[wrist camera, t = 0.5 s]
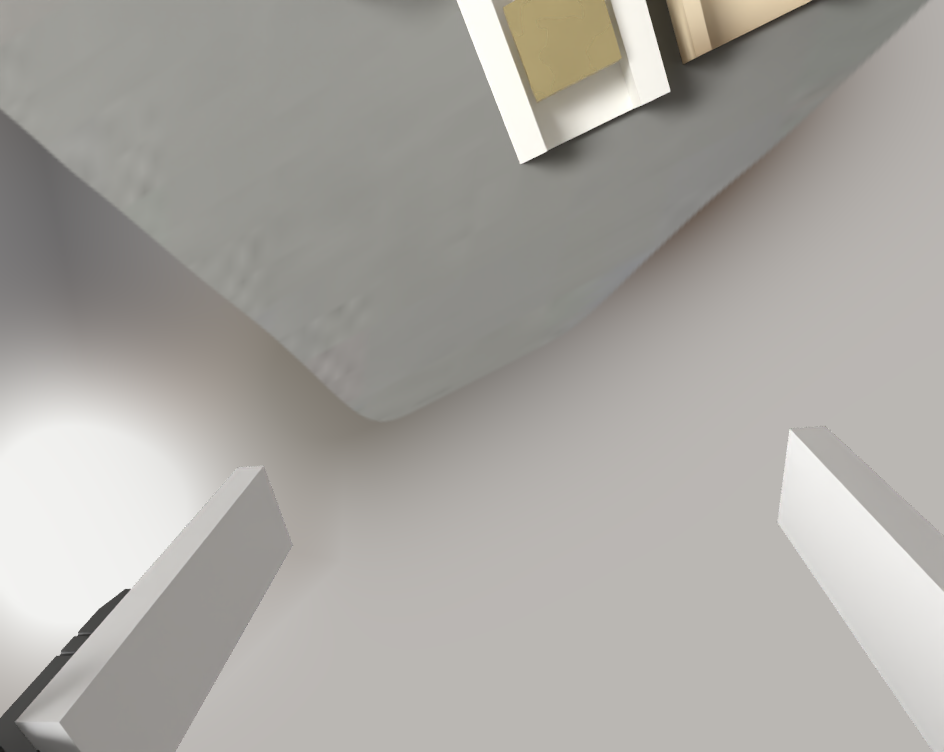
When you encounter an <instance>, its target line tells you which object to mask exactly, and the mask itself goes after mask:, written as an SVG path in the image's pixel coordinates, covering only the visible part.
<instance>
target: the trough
mask: <svg viewBox="0 0 944 752" xmlns="http://www.w3.org/2000/svg"><path fill="white" fill-rule="evenodd" d="M810 1H812V0H666V2H667V6H668V10H669V13H670V17H671V21H672V25H673V29H674V32H675V36H676V40H677V44H678V47H679V51H680V55H681V59H682V63H683V64H685V63H687V62H689V61H691V60H693V59H695V58H697V57H699V56H701V55H703V54H705V53H707V52H709V51H711V50H713V49H715V48H717V47H719V46H721V45H723V44H725V43H727V42H729V41H731V40H733V39H735V38H737V37H739V36H741V35H743V34H745V33H747V32H749V31H751V30H753V29H756V28H758V27H760V26H762V25H764V24H766V23H768V22H770V21H772V20H774V19H776V18H778V17H780V16H782V15H784V14H786V13H788V12H790V11H792V10H794V9H796V8H798V7H800V6H802V5H804V4H806V3H808V2H810Z"/></svg>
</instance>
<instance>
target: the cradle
mask: <svg viewBox="0 0 944 752" xmlns="http://www.w3.org/2000/svg"><path fill="white" fill-rule="evenodd" d="M513 1H515V0H457V2H458V5H459V7H460V10H461V12H462V15H463V18H464V20H465V23H466V25H467V28H468V30H469V33H470V36H471V38H472V41H473V43H474V46H475V48H476V51H477V54H478V56H479V59H480V61H481V64H482V66H483V69H484V71H485V74H486V77H487V79H488V82H489V84H490V87H491V89H492V92H493V95H494V97H495V100H496V102H497V105H498V107H499V110H500V113H501V115H502V118H503V120H504V123H505V125H506V128H507V130H508V133H509V136H510V138H511V141H512V143H513V146H514V148H515V151H516V154H517V156H518V159H519V161H520V164H521V163H524V162H526V161H528V160H531V159H533V158H535V157H537V156H539V155H541V154H543V153H545V152H547V150H549V149H552V148H554V147H556V146H558V145H560V144H562V143H564V142H566V141H568V140H570V139H572V138H574V137H576V136H578V135H580V134H582V133H584V132H587V131H589V130H591V129H593V128H595V127H597V126H599V125H601V124H603V123H605V122H607V121H609V120H611V119H613V118H615V117H617V116H619V115H621V114H624V113H626V112H628V111H630V110H632V109H634V108H637V107H639V106H642V105H644V104H646V103H648V102H650V101H652V100H654V99H656V98H658V97H660V96H662V95H664V94H666V93H669V92H671V91H670V87H669V84H668V80H667V77H666V73H665V69H664V66H663V62H662V58H661V55H660V51H659V48H658V44H657V40H656V37H655V33H654V29H653V26H652V22H651V19H650V15H649V11H648V8H647V4H646V0H605V3H606V7H607V10H608V13H609V17H610V20H611V23H612V27H613V30H614V33H615V37H616V40H617V43H618V47H619V50H620V53H621V57H622V58H621V59H620V60H619V61H618V62H616V63H614V64H612V65H610V66H609V67H607V68H605V69H603V70H601V71H599V72H597V73H595V74H593V75H591V76H589V77H587V78H585V79H583V80H581V81H579V82H577V83H575V84H573V85H572V86H570V87H568V88H566V89H564V90H562V91H560V92H558V93H556V94H554V95H552V96H550V97H548V98H546V99H544V100H542V101H540V102H538V103H536V100H535V97H534V94H533V92H532V89H531V86H530V84H529V81H528V78H527V75H526V73H525V70H524V67H523V64H522V62H521V59H520V56H519V53H518V51H517V48H516V45H515V42H514V40H513V37H512V34H511V31H510V29H509V26H508V23H507V20H506V18H505V15H504V11H503V7H504V6H506V5H508V4H509V3H511V2H513Z"/></svg>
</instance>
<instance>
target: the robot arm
mask: <svg viewBox="0 0 944 752" xmlns="http://www.w3.org/2000/svg"><path fill="white" fill-rule="evenodd" d="M777 522H778V524H779V525H780V527H781V528H782V530H783V531H784V533H785V534H786V536H787V537H788V538H789V540H790V542H791V543H792V545H793V546H794V547H795V549H796V550H797V552H798V553H799V555H800V556H801V558H802V559H803V561H804V562H805V564H806V565H807V567H808V568H809V570H810V571H811V573H812V574H813V576H814V577H815V579H816V580H817V581H818V583H819V584H820V586H821V587H822V589H823V590H824V592H825V593H826V595H827V596H828V598H829V599H830V601H831V602H832V604H833V605H834V606H835V608H836V609H837V611H838V612H839V614H840V615H841V617H842V618H843V620H844V621H845V623H846V624H847V626H848V627H849V629H850V630H851V632H852V633H853V635H854V636H855V638H856V639H857V640H858V642H859V643H860V645H861V646H862V648H863V649H864V651H865V652H866V654H867V655H868V657H869V658H870V660H871V661H872V663H873V664H874V666H875V667H876V669H877V670H878V671H879V673H880V674H881V676H882V677H883V679H884V680H885V682H886V683H887V685H888V686H889V688H890V689H891V691H892V692H893V694H894V695H895V697H896V698H897V700H898V701H899V703H900V704H901V706H902V707H903V709H904V710H905V712H906V713H907V714H908V716H909V717H910V719H911V720H912V722H913V723H914V725H915V726H916V728H917V729H918V731H919V732H920V734H921V735H922V736H923V738H924V739H925V741H926V743H927V744H928V745H929V747H930V748H931V750H932V751H933V752H944V536H943V535H942V534H941V533H940V532H939V531H938V530H937V529H936V528H935V527H934V526H933V525H931V524H930V523H929V522H928V521H927V520H926V519H925V518H924V517H923V516H922V515H921V514H920V513H919V512H918V511H916V510H915V509H914V508H913V507H912V506H911V505H910V504H909V503H908V502H907V501H906V500H905V499H904V498H902V497H901V496H900V495H899V494H898V493H897V492H896V491H895V490H894V489H893V488H892V487H891V486H890V485H888V484H887V483H886V482H885V481H884V480H883V479H882V478H881V477H880V476H879V475H878V474H877V473H875V472H874V471H873V470H872V469H871V468H870V467H869V466H868V465H867V464H866V463H865V462H864V461H863V460H861V459H860V458H859V457H858V456H857V455H856V454H855V453H854V452H853V451H852V450H851V449H850V448H849V447H848V446H846V445H845V444H844V443H843V442H842V441H841V440H840V439H839V438H838V437H837V436H836V435H835V434H833V433H832V432H831V431H830V430H829V429H828V428H827V427H826V426H820V427H806V428H791V429H790V431H789V438H788V447H787V453H786V461H785V469H784V476H783V484H782V492H781V499H780V506H779V514H778V521H777ZM292 546H293V545H292V542H291V539H290V536H289V534H288V531H287V528H286V525H285V522H284V520H283V517H282V514H281V511H280V509H279V506H278V503H277V500H276V498H275V495H274V492H273V489H272V487H271V484H270V481H269V479H268V476H267V473H266V470H265V467H264V466H253V467H240V468H239V467H238V468H237V469H236V470H235V471H234V472H233V473H232V474H231V475H230V477H229V478H228V479H227V480H226V481H225V482H224V484H223V485H222V486H221V487H220V488H219V489H218V490H217V492H216V493H215V494H214V495H213V496H212V497H211V498H210V499H209V501H208V502H207V503H206V504H205V505H204V506H203V507H202V509H201V510H200V511H199V512H198V513H197V514H196V516H195V517H194V518H193V519H192V520H191V521H190V522H189V524H188V525H187V526H186V527H185V528H184V529H183V530H182V532H181V533H180V534H179V535H178V536H177V537H176V538H175V539H174V541H173V542H172V543H171V544H170V545H169V546H168V547H167V549H166V550H165V551H164V552H163V553H162V554H161V555H160V557H159V558H158V559H157V560H156V561H155V562H154V564H153V565H152V566H151V567H150V568H149V569H148V570H147V572H146V573H145V574H144V575H143V576H142V577H141V578H140V579H139V581H138V582H137V583H136V584H135V585H134V586H133V588H132V589H125V590H124V591H122V592H121V593H119V594H118V595H117V596H116V597H114V598H113V599H112V600H110V601H109V602H108V603H106V604H105V605H104V606H102V607H101V608H100V609H99V610H98V611H97V612H96V613H95V614H94V615H93V616H92V617H91V618H90V620H89V621H88V622H87V623H86V624H85V625H84V626H83V627H82V628H81V629H80V631H79V632H78V636H75V637H73V638H72V639H71V640H70V642H69V643H68V644H67V645H66V646H65V647H64V648H63V649H62V650H61V655H60V656H56V657H55V658H54V659H53V660H52V661H51V663H50V664H49V665H48V666H47V667H46V668H45V669H44V670H43V671H42V672H41V674H40V675H39V676H38V677H37V678H36V679H35V680H34V681H33V682H32V684H31V685H30V686H29V687H28V688H27V689H26V690H25V691H24V692H23V693H22V695H21V696H20V697H19V698H18V699H17V700H16V701H15V702H14V703H13V704H12V706H11V707H10V708H9V709H8V710H7V711H6V712H5V713H4V714H3V716H2V717H1V718H0V752H175V751H176V749H177V748H178V746H179V744H180V743H181V741H182V739H183V737H184V735H185V734H186V732H187V730H188V728H189V726H190V725H191V723H192V721H193V719H194V718H195V716H196V714H197V713H198V711H199V709H200V707H201V706H202V704H203V702H204V700H205V699H206V697H207V695H208V693H209V692H210V690H211V688H212V686H213V685H214V682H215V681H216V679H217V677H218V676H219V674H220V672H221V670H222V669H223V667H224V665H225V663H226V662H227V660H228V658H229V656H230V655H231V653H232V651H233V649H234V648H235V646H236V644H237V642H238V640H239V639H240V637H241V635H242V633H243V632H244V630H245V628H246V626H247V625H248V623H249V621H250V619H251V618H252V616H253V614H254V612H255V611H256V609H257V607H258V605H259V604H260V602H261V600H262V598H263V597H264V595H265V593H266V591H267V589H268V588H269V586H270V584H271V582H272V581H273V579H274V577H275V575H276V574H277V572H278V570H279V568H280V567H281V565H282V563H283V561H284V559H285V558H286V556H287V554H288V552H289V551H290V549H291V547H292Z"/></svg>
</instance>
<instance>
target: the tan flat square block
mask: <svg viewBox="0 0 944 752" xmlns="http://www.w3.org/2000/svg"><path fill="white" fill-rule="evenodd" d="M503 11H504V15H505V18H506V20H507V23H508V26H509V29H510V31H511V34H512V37H513V40H514V42H515V45H516V48H517V51H518V53H519V56H520V59H521V62H522V64H523V67H524V70H525V73H526V75H527V78H528V81H529V84H530V86H531V89H532V92H533V94H534V97H535V100H536V103H538V102H540V101H542V100H544V99H546V98H548V97H550V96H552V95H554V94H556V93H558V92H560V91H562V90H564V89H566V88H568V87H570V86H572V85H573V84H575V83H577V82H579V81H581V80H583V79H585V78H587V77H589V76H591V75H593V74H595V73H597V72H599V71H601V70H603V69H605V68H607V67H609V66H610V65H612V64H614V63H616V62H618V61H619V60H620V59H621V58H622V57H621V53H620V50H619V47H618V43H617V40H616V37H615V33H614V30H613V27H612V23H611V20H610V17H609V13H608V10H607V7H606V3H605V0H515V1H513V2H511V3H509V4H508V5H506V6H504V7H503Z"/></svg>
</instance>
